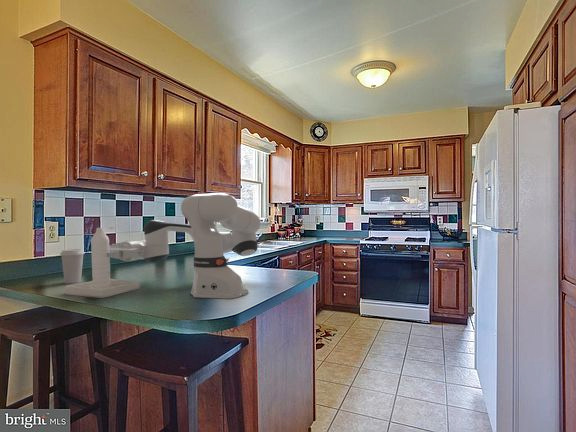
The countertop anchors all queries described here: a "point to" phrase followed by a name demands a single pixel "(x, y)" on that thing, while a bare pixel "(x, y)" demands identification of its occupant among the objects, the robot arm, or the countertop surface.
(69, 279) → the coffee cup
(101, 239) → the water bottle
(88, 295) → the tray
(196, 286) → the robot arm
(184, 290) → the countertop surface
